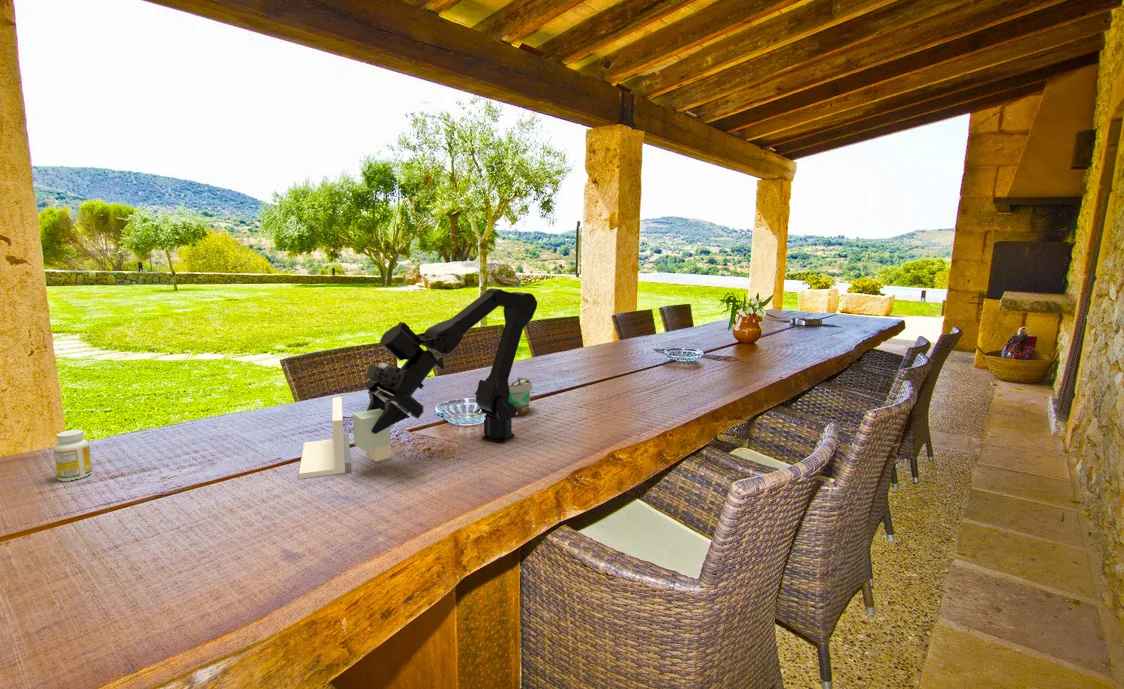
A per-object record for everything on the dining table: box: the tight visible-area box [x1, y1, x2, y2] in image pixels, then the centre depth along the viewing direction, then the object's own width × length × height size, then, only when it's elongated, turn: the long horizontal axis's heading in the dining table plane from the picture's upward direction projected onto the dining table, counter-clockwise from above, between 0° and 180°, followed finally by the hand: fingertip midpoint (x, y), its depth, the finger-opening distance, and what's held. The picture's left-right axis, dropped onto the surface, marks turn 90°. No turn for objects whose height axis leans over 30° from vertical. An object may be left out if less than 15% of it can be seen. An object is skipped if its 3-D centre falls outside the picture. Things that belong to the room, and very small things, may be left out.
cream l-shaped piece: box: [298, 396, 352, 480], centre depth 120 cm, size 10×20×12 cm, turn 23°
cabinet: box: [352, 409, 392, 462], centre depth 114 cm, size 6×5×10 cm
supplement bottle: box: [53, 429, 93, 482], centre depth 108 cm, size 5×5×10 cm
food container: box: [509, 376, 533, 418], centre depth 158 cm, size 12×6×10 cm, turn 168°
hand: (367, 429), depth 113 cm, fingers closed on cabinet, 5 cm apart
